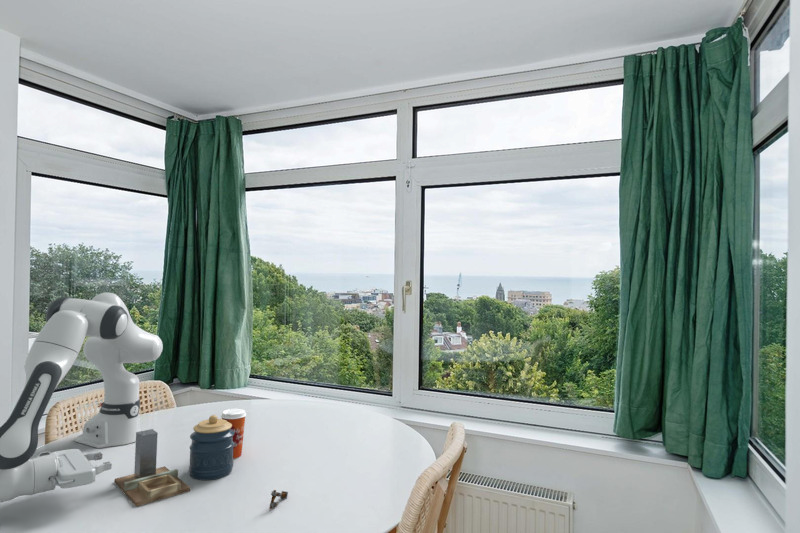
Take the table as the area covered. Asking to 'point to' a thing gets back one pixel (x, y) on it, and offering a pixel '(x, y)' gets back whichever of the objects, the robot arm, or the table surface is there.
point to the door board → (152, 486)
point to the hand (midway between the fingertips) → (106, 460)
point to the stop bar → (145, 453)
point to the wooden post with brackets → (282, 495)
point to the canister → (211, 449)
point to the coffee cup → (236, 428)
